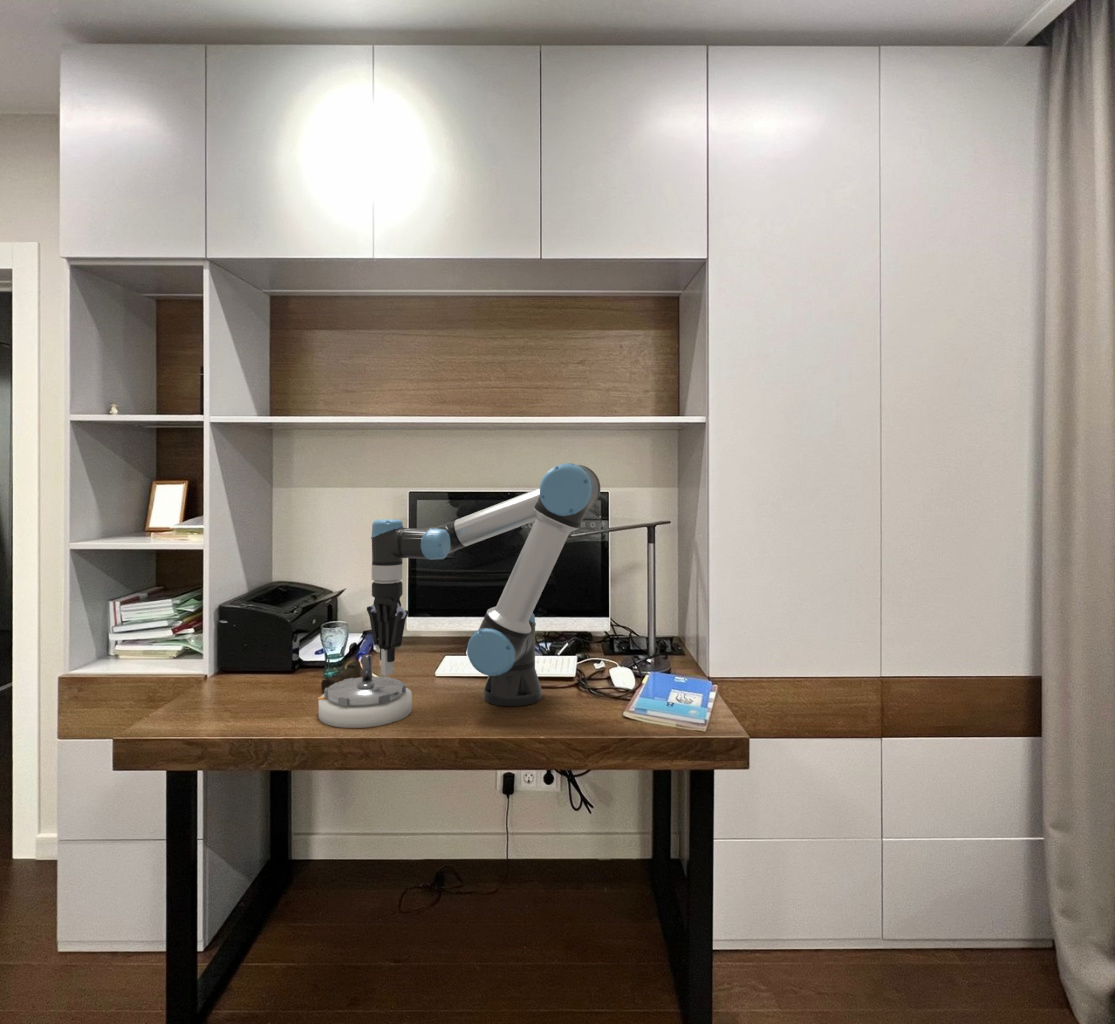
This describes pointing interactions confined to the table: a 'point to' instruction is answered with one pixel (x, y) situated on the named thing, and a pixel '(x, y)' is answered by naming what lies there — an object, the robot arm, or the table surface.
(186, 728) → the table surface
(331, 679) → the hand tool
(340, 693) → the grey disc with handle
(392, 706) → the housing
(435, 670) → the table surface
